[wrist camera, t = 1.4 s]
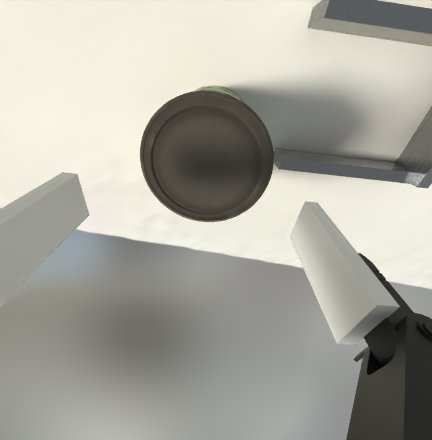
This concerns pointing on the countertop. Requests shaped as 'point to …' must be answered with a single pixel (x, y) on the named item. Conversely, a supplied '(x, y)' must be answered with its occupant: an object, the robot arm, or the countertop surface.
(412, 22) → the grey u-shaped frame
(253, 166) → the coffee can
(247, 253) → the countertop surface
